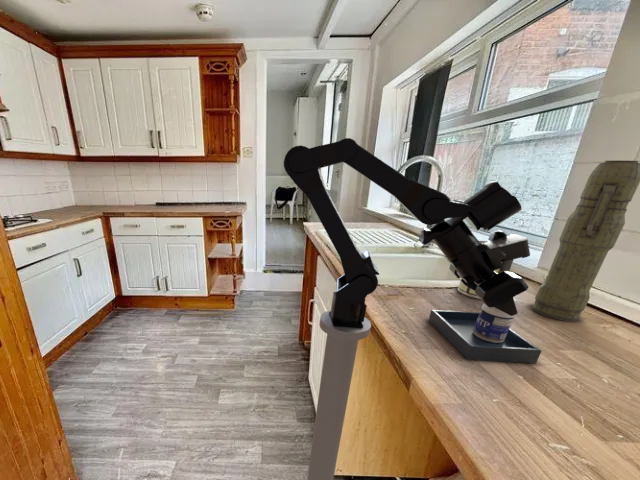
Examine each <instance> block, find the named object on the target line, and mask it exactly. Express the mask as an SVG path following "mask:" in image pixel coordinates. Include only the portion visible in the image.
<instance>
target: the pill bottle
mask: <svg viewBox="0 0 640 480" xmlns="http://www.w3.org/2000/svg"><path fill="white" fill-rule="evenodd" d="M513 299H514V302H515V303H516V302H517V298H515V297H513ZM479 312H480V313H479V316H478V318H477V321H476V324H475V327H474V329H473V333H474V335H476V336H477V337H478V338H480V339H482V340H485V341H488V342H492V343H501V342H503V341H504V340H505V338H506V335H507V333H508V330H509V328H510V327H511V325H512V323H513V321H514V318H515V316H516V315H514V316H510V315H508V314H506V313H504V312H503V311H501V310H499V309H497V308H495V307H490V308H489V307H488V306H487V305H486V304H485V303H483V304H482V305H481V308H480V310H479ZM510 329H511V328H510Z"/></svg>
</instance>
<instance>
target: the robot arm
mask: <svg viewBox="0 0 640 480" xmlns="http://www.w3.org/2000/svg"><path fill="white" fill-rule="evenodd" d="M341 163H343V164H346V165H347V166H348V167H350V168H352V169H353V170H354V171H356V172H357V173H359V174H361V175H362V176H363V177H365V178H366V179H367V180H370V181H371V182H372V183H374V184H375V185H377V186H378V187H380V188H381V189H383V190H384V191H386V192H387V193H389V194H390V195H392V197H393V198H395V199H396V201H397V202H398V203H399V204H400V205H401V206H402V207H403V208H404V209H405V210H406V211H407V212H408V213H409V214H410V215H411V216H412V217H413V218H414V219H416V220H417V221H419V222H420V223H422V224H424V225H427V226H431V227H429V228H425V227H422V228H420V234H419V238H418V241H419V243H421V244H422V245H423V246H426V245H428V244H429V243H431V242H432V241H433V242H434V244H435V245H436V246H437V248H438V249H439V250H440V252H441V253H442V254H443V255H444V258H445V260H446V261H447V262H448V263H450V264H449V271H450V272H451V273H452V274H453V276H454V277H455V278H456V279H460V280H461V282H462V283H463V284H464V285H465V286H467V287H469V288H471V289H472V290H474V291H475V293H476V294H477V296H478V298H479V299H478V300H480V301H481V302H483V304H486V305H487V306H488V307H489V308H490V307H495V308H497V309H499V310H501V311H503V312H504V313H506V314H508V315H510V316H514V315H515V316H516V315H518V309H517V306H516V302H514V299H513V297H514V298H515V297H516V296H518V295H520V294H523V293H524V292H526V291H527V290H528V289H529V286H528V284H527V282H526V281H525V280H524V279H523V277H521V276H519V275H517V274H516V273H514V272H513V271H509V272H506V271H502V272H501V273H499V274H498V273H496V272H495V270H498V269H499V268H501V267H503V264H502V263H501V262H506V261H510V260H513V259H514V260H518V259H525V258H528V257H530V256H531V251H530V246H529V245H530V244H529V240H528V237H525V236H523V235H521V234H512V233H509V234H508V235H507V234H506V233H505V232H504V231H502V230H499V229H498V230H494V231H491V232H490V233H489V237H488V239H487V240H485V241H486V243H483V244H482V243H480V241H481V240H479V239H478V238H477V236H475V234H474V233H473V232H472V230H471V229H470V227H471V228H472V229H473V230H474V231H476V232H478V231H480V230H481V229H482V230H483V231H485V232H488V231H490V230H492V229H493V228H495V227H497V226H498V225H500V224H501V223H503V222H505V221H506V220H508V219H509V218H511V217H512V216H514V215H516V214H517V213H519V212H521V211H522V204H521V202H520V201H519V200H518V197H516V196H515V195H513V194H511V192H510V191H508V190H507V189H506V188H504V187H503V186H501V185H500V182H498V181H490V182H488V183H487V184H485V185H484V186H483V187H482V188H481V189H480V190H478V191H477V192H476V193H474V194H473V195H471V196H470V197H468V198H467V199H465V200H459V199H453V200H452V199H451V198H450V197H449V195H447V194H446V193H444V192H442V191H439V190H437V189H435V188H432V187H430V186H427V185H425V184H422V183H420V182H417V181H415V180H413V179H410V178H408V177H406V176H405V175H404V174H402V173H401V172H399V171H398V170H396V169H395V168H393V167H392V166H391V165H389V164H387V163H386V162H385V161H383V160H381V159H380V158H379V157H377V156H376V155H374V154H373V153H371V152H370V151H368V150H367V149H365V148H363V147H362V146H361V145H359V144H358V143H357V141H356V140H354V139H353V138H350V137H344V138H343V139H341V140H338V141H333V142H329V143H326V144H320V145H316V146H313V147H307V146H305V145H301V144H300V145H295V146H293V147H290V149H289V150H288V151H287V152H286V153H285V156H284V158H283V168H284V171H285V172H286V174H287V175H288V177H289V178H290V179H291V180H292V182H293V183H294V184H295V185H296V186H297V187H298V189H299V190H300V191H301V192H302V193H303V194H304V195H305V196H306V198H307V199H308V201H309V203H310V205H311V207H312V208H313V210H314V213H316V215H317V218H318V219H319V221H320V223H321V225H322V227H323V228H324V230H325V232H326V234H327V237H328V238H329V240H330V242H331V243H332V245H333V247H334V249H335V251H336V253H337V254H338V256H339V259H340V263H341V266H342V269H343V274H342V275H341V276H340V277H338V278H337V279H336V288H335V291H333V292H332V299H331V300H332V301H331V307H330V310H331V312H329V317H330V319H331V322H332V325H333V326H334V327H350V328H363V324H362V322H364V318H365V317H366V314H367V313H366V312H367V309H368V308H367V307H368V305H367V304H366V297H367V296H368V295H371V294H372V293H374V292H375V291H376V290H377V288H378V285H379V279H378V276H379V275H380V271H379V268H378V266H377V264H376V263H375V262H374V261H373V259H372V257H371V254H370V250H369V249H366V250H364V251H361V250H360V249H359V248H358V246H357V245H356V242H355V241H354V239H353V237H352V236H351V233H350V232H349V230H348V228H347V226H346V224H345V221H344V220H343V218H342V216H341V214H340V213H339V211H338V208H337V207H336V205H335V203H334V201H333V199H332V197H331V195H330V193H329V191H328V190H327V188H326V185H325V182H324V181H325V180H324V177H323V174H322V170H321V169H322V168H326V167H330V166H333V165H334V166H335V165H338V164H341ZM446 219H447V220H446ZM464 220H465V221H466V222H465V221H464ZM466 223H467V224H468V225H469V226H470V227H469V226H468V225H467V224H466ZM514 260H513V261H514ZM461 278H462V279H461ZM515 316H514V317H515Z"/></svg>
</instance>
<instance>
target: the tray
mask: <svg viewBox="0 0 640 480" xmlns="http://www.w3.org/2000/svg"><path fill="white" fill-rule="evenodd" d="M479 313H480V311H479V312H478V311H464V310H463V311H462V310H461V311H460V310H446V309H445V310H443V309H431V310H430V313H429V317H428V322H429V323H430V324H431V325H432V326H433V327H434V328H435V329H436V331H438V332H439V333H440V334H441V335H442V336H443V337H444V338H445V339H446V340H447V341H448V342H449V343H450V344H451V345H452V346H453V347H454V348H455V349H456V350H457V351H458V352H459V353H460V354H461V355H462V356H463V357H464V358H465V359H466V360H474V361H487V362H489V361H490V362H505V363H523V364H537V362H538V359H539V358H540V356H541V353H542V351H543V350H542V349H540V348H539V347H538V346H536V345H535V344H534V343H532V342H530V341H529V340H527V339H526V338H525V337H523V336H522V335H520V334H519V333H518V332H515V331H514V330H513V329H511V328H509V330H508V333H507V335H506V338H505V340H504V341H503V342H501V343H492V342H488V341H485V340H482V339H480V338H478V337H477V336H476V335H474V333H473V329H474V327H475V324H476V321H477V318H478V316H479Z"/></svg>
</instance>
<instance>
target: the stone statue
mask: <svg viewBox="0 0 640 480" xmlns="http://www.w3.org/2000/svg"><path fill="white" fill-rule="evenodd" d="M639 185H640V162H639V160H604V162H599V163H597V165H596V166H595V167H594V169H593V170H592V171H591V173H590V174H589V175H588V177H587V179H586V182H585V184H584V186H583V189H582V192H581V195H580V197H579V198H580V200H579V202H578V204H577V205H576V206H575V208H574V210H573V212H572V213H570V214H569V216H568V217H567V219H566V222H565V224H564V226H563V229H562V231H561V234H560V236H559V238H558V239H559V240H558V241H559V246H558V248H557V250H556V253H555V256H554V258H553V260H552V263H551V266H550V268H549V270H548V273H547V275H546V278H545V280H543V282H542V283H541V284H540V286H539V287H538V290H537V292H536V294H535V297H534V300H535V301H534V303H533V304H532V306H531V309H532V310H533V311H534V312H536V313H538V314H540V315H542V316H545V317H548V318H550V319H554V320H558V321H567V322H577V321H578V320H579V319H580V316H581V314H582V313H583V311H584V310H586V307H587V305H588V303H589V301H590V297H591V296H590V291H591V289H592V286H593V284H594V282H595V280H596V278H597V276H598V274H599V272H600V270H601V268H602V265H603V264H604V261H605V259H606V257H607V255H608V253H609V251H611V250H612V249H614V247H615V245H616V243H617V241H618V239H619V238H620V234H621V232H622V231H623V228H624V226H625V224H626V213H627V210H628V206H629V203H630V202H632V200H633V198H634V196H635V194H636V192H637V189H638V187H639Z"/></svg>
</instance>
